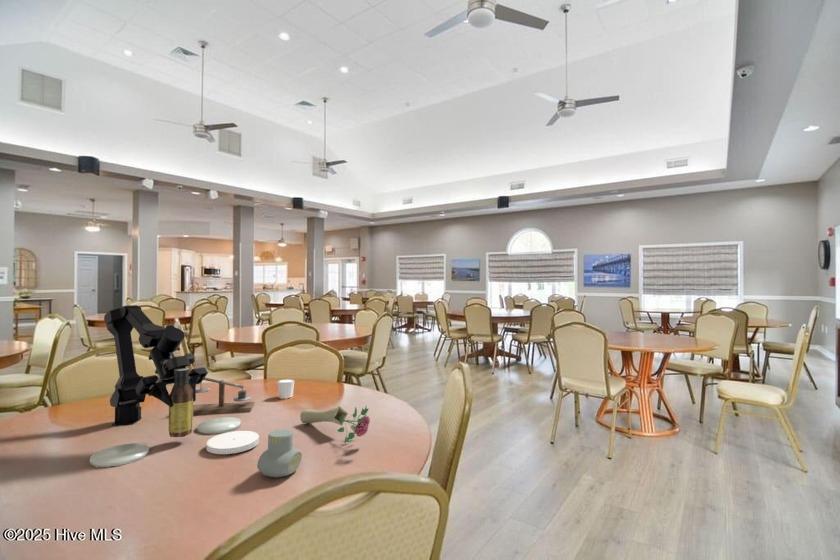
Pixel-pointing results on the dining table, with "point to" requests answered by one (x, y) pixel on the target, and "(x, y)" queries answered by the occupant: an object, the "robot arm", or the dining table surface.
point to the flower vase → (338, 419)
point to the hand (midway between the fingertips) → (183, 403)
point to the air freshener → (279, 455)
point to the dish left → (119, 455)
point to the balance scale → (223, 406)
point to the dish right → (219, 425)
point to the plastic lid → (232, 442)
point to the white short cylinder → (285, 388)
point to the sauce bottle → (181, 405)
